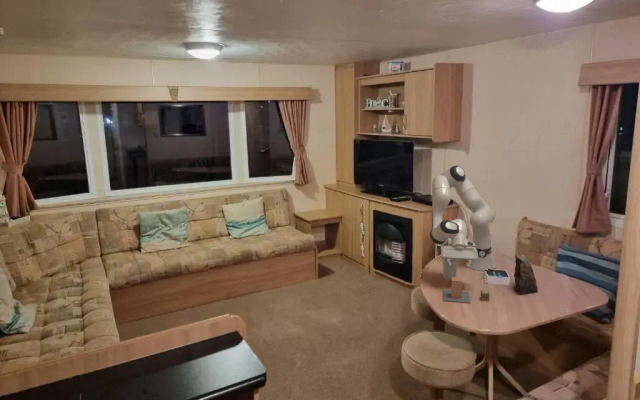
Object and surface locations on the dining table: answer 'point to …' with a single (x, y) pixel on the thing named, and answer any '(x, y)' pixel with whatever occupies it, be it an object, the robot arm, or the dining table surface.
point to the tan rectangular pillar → (456, 287)
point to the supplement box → (449, 269)
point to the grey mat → (448, 298)
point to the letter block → (485, 295)
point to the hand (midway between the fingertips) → (459, 267)
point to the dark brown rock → (524, 276)
